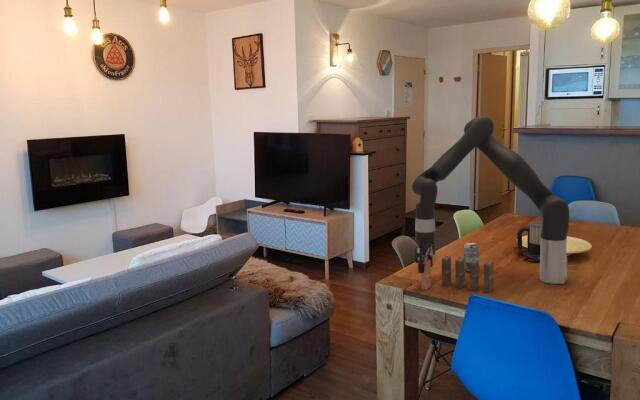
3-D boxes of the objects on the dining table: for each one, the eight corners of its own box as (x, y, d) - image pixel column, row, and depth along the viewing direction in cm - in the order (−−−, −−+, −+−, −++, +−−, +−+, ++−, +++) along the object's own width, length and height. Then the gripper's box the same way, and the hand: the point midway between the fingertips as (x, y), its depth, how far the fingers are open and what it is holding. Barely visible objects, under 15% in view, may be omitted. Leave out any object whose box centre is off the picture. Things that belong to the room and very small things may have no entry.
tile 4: (451, 282, 204) (451, 256, 202) (447, 286, 200) (446, 259, 198) (446, 282, 205) (445, 255, 203) (441, 285, 201) (441, 259, 199)
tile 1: (493, 288, 195) (493, 261, 193) (489, 292, 191) (489, 264, 189) (487, 287, 196) (487, 260, 194) (484, 292, 192) (484, 264, 190)
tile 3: (464, 284, 201) (464, 257, 199) (460, 288, 197) (460, 261, 195) (459, 283, 202) (459, 257, 200) (455, 287, 198) (455, 260, 196)
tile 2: (478, 286, 198) (478, 259, 196) (475, 290, 194) (474, 262, 192) (473, 285, 199) (473, 258, 197) (469, 289, 195) (469, 262, 193)
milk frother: (543, 252, 239) (544, 221, 236) (560, 261, 223) (560, 228, 221) (513, 253, 239) (513, 223, 236) (527, 263, 223) (528, 230, 220)
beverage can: (469, 273, 213) (469, 246, 211) (460, 269, 220) (460, 242, 218) (482, 271, 215) (482, 244, 213) (473, 267, 222) (473, 240, 220)
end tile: (431, 286, 201) (430, 259, 199) (426, 290, 197) (425, 263, 195) (426, 285, 202) (425, 259, 200) (421, 289, 198) (420, 262, 196)
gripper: (427, 234, 188) (427, 276, 191) (441, 226, 199) (441, 266, 202) (408, 232, 192) (409, 273, 195) (423, 224, 204) (423, 263, 206)
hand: (425, 269), depth 198 cm, fingers open, 8 cm apart
